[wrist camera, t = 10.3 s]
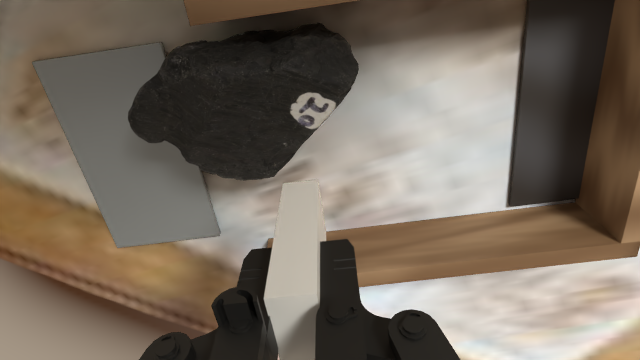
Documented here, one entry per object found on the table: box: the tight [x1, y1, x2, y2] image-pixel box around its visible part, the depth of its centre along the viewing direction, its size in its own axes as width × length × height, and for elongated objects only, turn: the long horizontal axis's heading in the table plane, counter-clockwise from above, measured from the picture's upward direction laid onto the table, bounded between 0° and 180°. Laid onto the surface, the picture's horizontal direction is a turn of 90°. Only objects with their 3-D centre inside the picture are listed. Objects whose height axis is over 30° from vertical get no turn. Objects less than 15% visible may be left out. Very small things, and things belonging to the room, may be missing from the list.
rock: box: [128, 23, 358, 180], centre depth 23 cm, size 8×11×10 cm
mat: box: [32, 42, 221, 248], centre depth 27 cm, size 14×8×1 cm, turn 8°
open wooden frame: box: [183, 0, 640, 287], centre depth 24 cm, size 18×24×5 cm
